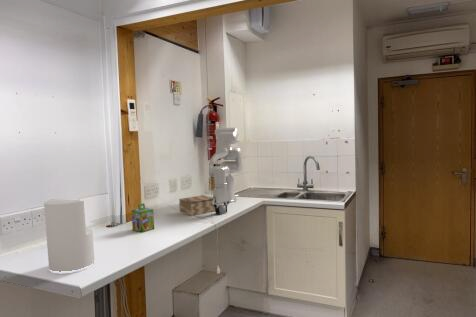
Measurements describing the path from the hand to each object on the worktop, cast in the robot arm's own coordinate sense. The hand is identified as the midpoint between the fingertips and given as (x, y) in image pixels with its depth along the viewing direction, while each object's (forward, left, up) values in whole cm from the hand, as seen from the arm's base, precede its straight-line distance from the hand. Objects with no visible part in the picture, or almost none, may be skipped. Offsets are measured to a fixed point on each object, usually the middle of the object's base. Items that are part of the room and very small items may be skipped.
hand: (221, 212), depth 234 cm
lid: (+8, -16, +8) cm, 19 cm away
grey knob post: (0, 0, -1) cm, 1 cm away
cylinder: (+101, +31, -1) cm, 106 cm away
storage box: (+8, -16, -1) cm, 18 cm away
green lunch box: (+55, -1, -1) cm, 55 cm away
